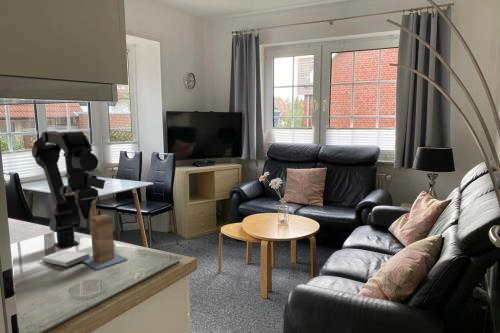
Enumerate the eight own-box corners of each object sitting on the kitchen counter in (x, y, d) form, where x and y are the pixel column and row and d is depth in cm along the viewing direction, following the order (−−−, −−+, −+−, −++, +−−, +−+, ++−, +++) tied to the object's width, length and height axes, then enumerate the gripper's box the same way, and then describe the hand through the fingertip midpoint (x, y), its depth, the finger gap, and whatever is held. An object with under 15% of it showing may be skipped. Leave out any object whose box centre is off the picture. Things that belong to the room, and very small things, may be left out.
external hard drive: (66, 267, 111) (42, 261, 117) (89, 258, 118) (65, 253, 124) (65, 262, 110) (41, 257, 117) (89, 253, 117) (65, 248, 124)
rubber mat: (80, 261, 117) (80, 259, 117) (110, 252, 124) (110, 250, 124) (96, 270, 110) (96, 268, 109) (127, 260, 117) (127, 258, 117)
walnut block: (93, 260, 116) (90, 217, 114) (107, 255, 120) (104, 214, 118) (100, 263, 114) (97, 219, 112) (114, 258, 118) (111, 216, 116)
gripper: (112, 168, 118) (116, 215, 119) (90, 166, 131) (95, 208, 133) (76, 172, 110) (81, 223, 112) (57, 170, 123) (62, 215, 125)
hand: (81, 217), depth 120 cm, fingers open, 9 cm apart
